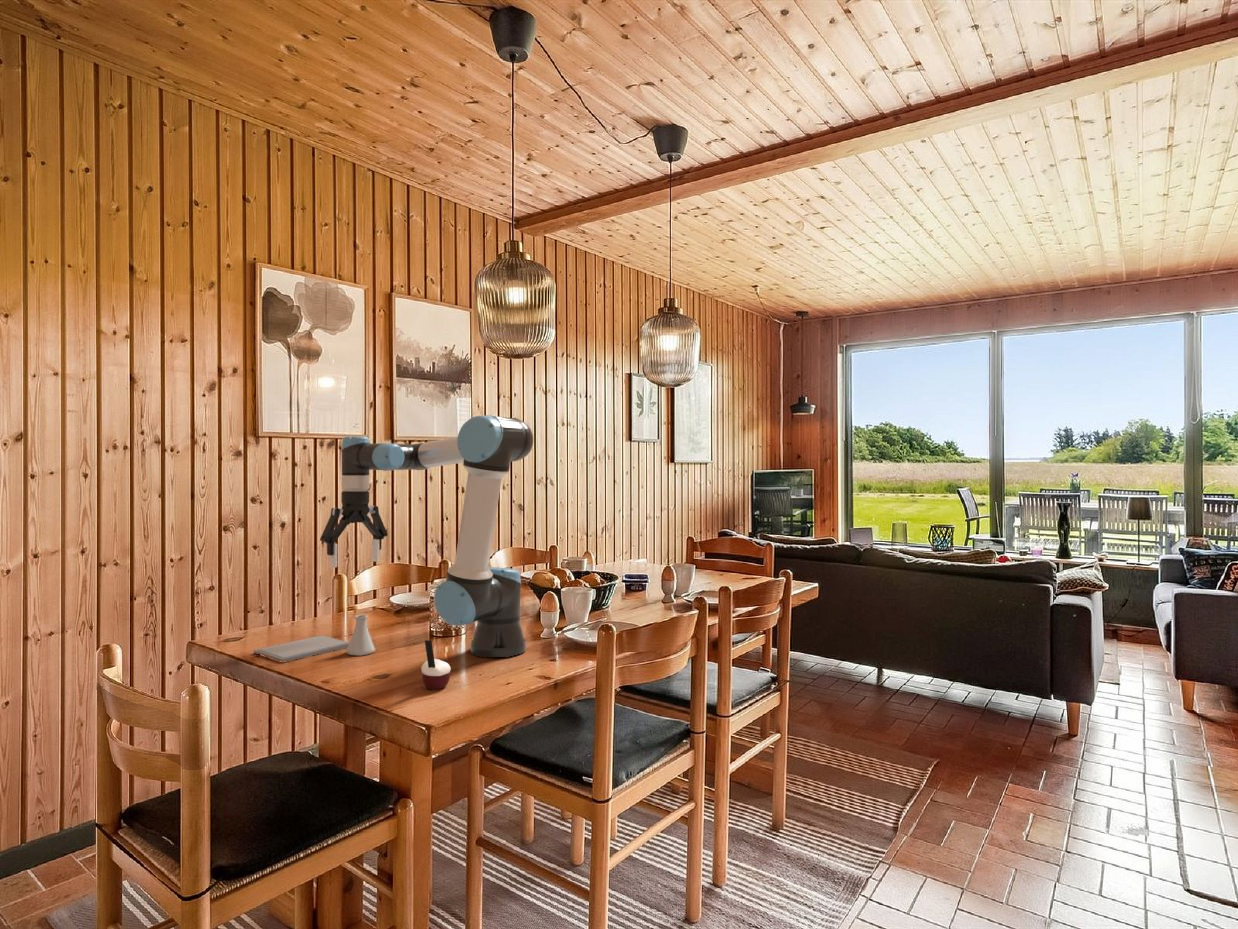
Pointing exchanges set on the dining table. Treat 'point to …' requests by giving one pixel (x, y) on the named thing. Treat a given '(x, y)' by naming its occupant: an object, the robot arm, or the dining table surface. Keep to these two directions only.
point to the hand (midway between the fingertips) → (354, 564)
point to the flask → (360, 638)
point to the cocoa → (434, 670)
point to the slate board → (302, 648)
